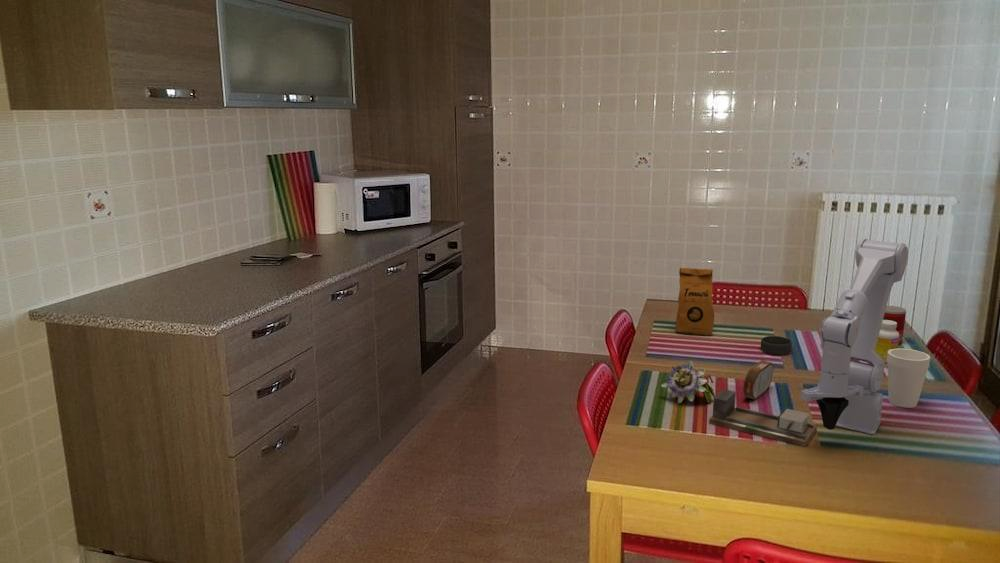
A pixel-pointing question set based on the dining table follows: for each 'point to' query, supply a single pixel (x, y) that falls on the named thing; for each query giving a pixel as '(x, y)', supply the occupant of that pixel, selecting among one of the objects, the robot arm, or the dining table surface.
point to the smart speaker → (776, 345)
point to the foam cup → (906, 376)
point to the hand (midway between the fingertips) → (828, 427)
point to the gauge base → (754, 421)
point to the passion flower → (688, 383)
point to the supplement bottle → (887, 339)
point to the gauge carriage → (793, 421)
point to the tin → (758, 379)
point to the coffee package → (695, 302)
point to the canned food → (896, 319)
